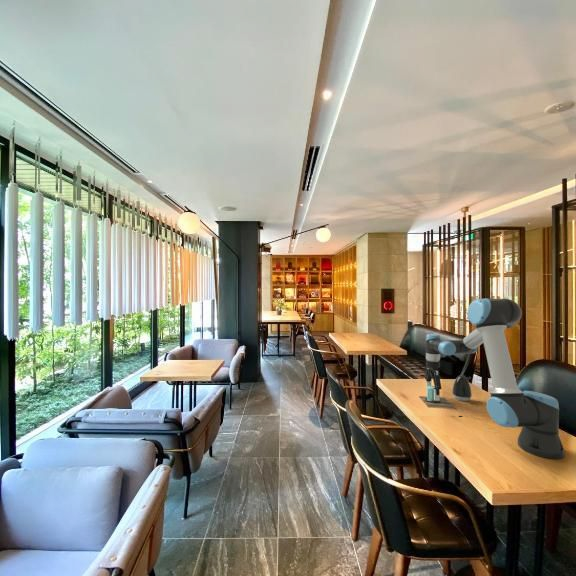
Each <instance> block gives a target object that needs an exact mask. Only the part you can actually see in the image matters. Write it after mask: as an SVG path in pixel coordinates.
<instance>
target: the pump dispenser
mask: <svg viewBox="0 0 576 576" xmlns="http://www.w3.org/2000/svg"><path fill="white" fill-rule="evenodd" d="M471 379H472V377H471V376H469V377H468V376H467V377H466V375H459V374H458V376H457V377H456V378H455V380H454V382H453V386H452V391H451V392H452V396H453V398H454V399H455V400H457V401H460V402H469V401H470V400H471V398H472V396H473V395H472V387H471V385H470V381H469V380H471Z"/></svg>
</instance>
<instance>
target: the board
mask: <svg viewBox="0 0 576 576" xmlns="http://www.w3.org/2000/svg"><path fill="white" fill-rule="evenodd" d="M418 397H419V399H420V400H421V401H422V402H423V403H424V404H425V405H426V407H427V408H431V409H432V408H433V409H451V410H452V409H453V410H457V408H456V407H455V406H454V405H453V404H452V403H451V402H450V401H449V400H447V399H446V398H445V397H443V396H440V403H430V402H427V401H426V400H425V398H426V397H427V396H426V395H425V396H424V395H423V396H421V395H420V396H418Z"/></svg>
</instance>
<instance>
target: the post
mask: <svg viewBox="0 0 576 576" xmlns="http://www.w3.org/2000/svg"><path fill="white" fill-rule="evenodd" d="M425 397H426V398H425V400H426V401H427V402H430V403H440V401H431V400H428V399H427V396H425Z"/></svg>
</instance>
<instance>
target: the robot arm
mask: <svg viewBox="0 0 576 576" xmlns="http://www.w3.org/2000/svg"><path fill="white" fill-rule="evenodd" d="M522 313H523V311H522V307H520V305H519V304H518V303H517V302H516V301H514V300H512V299H509V298H477V299H474V300H473V301H472V302H470V304H469V306H468V308H467V314H466V315H467V319H468V321H469V322H470V323H471V324H473V325H475V327H476V328H475V329H474V330H473V331H470V333H469V334H467V335H466V336H465V337H464V338H462V339H452V340H451V339H449V340H448V339H447V340H446V339H445V340H444V339H441V335H440V334H438V333H437V334H436V333H427V334H426V337H425V338H426V339H425V366H426V372H425V376H424V379H425V381H426V384H425V386H426V387H425V388H426V390H425V392H426V393H427V386H432V382H433V384H434V385H433V386H435V388H434V400H437V401H440V397H441V395H440V394H441V393H440V392H441V390H442V389H443V388H442V383H441V382H442V381H441V377H440V376H441V375H440V371H439V370H438V369H440V367H441V362H440V360H441V356H442V355H444V356H452V355H456V354H457V355H459V354H461V355H462V354H468V355H470V354H475V353H476V352H477V350H478V347H479V346H481V345H482V344H483V348H484V351H485V356H486V360H487V365H488V369H489V374H490V379H491V382H492V390H491V391H490V393H489V395H490V397H489V398H488V399H487V402H486V410H487V413H488V415H489V416H490V418H491V419H492V421H494V423H496V424H497V425H499V426H500V427H503V428H512V429H514V428H519V427H520V428H521V427H522V428H521V430H520V433H519V435H518V437H517V445H518V447H520V448H521V449H522V450H523V451H525V452H527V453H529V454H532V455H535V456H538V457H542V458H545V459H552V460H553V459H554V460H559V459H560V460H561V459H563V458H564V457H565V449H564V445H563V443H562V441H561V438H560V435H559V433H560V432H559V426H560V425H559V424H560V420H559V419H560V408H559V401H558V399H557V398H555V397H553V396H551V395H548V394H545V393H541V392H537V391H532V390H522V389H520V388H519V387H518V383H517V379H516V376H515V371H514V368H513V363H512V359H511V355H510V351H509V346H508V342H507V338H506V333H505V330H507V329H508V330H509V329H510V328H513V326H514V325H516V324H517V323H519V321H520V320H521V318H522V315H523V314H522ZM441 354H442V355H441Z"/></svg>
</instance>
